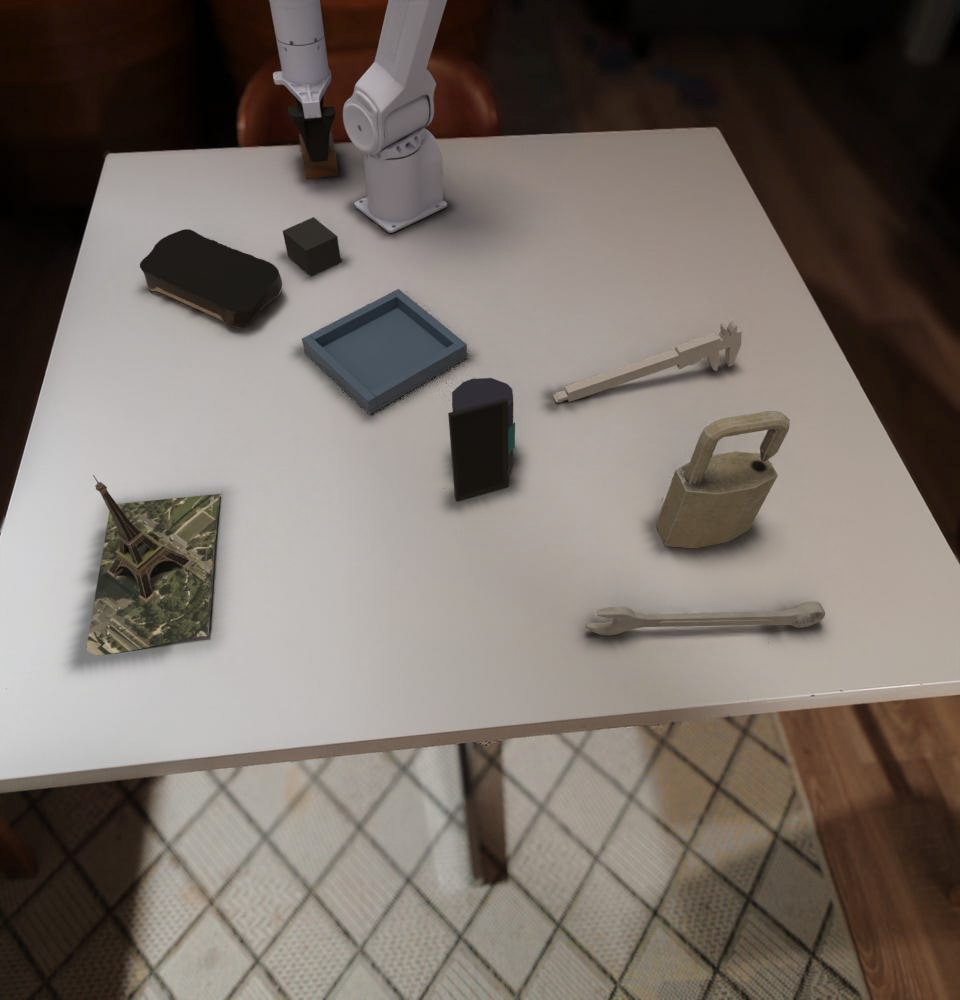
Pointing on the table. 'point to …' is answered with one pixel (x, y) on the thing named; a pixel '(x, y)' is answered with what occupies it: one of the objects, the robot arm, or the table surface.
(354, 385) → the holder
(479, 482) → the speaker
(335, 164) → the walnut block
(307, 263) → the black block
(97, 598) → the eiffel tower figurine
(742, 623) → the combination wrench
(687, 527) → the padlock
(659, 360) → the caliper
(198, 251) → the black sponge
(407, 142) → the robot arm
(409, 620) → the table surface
